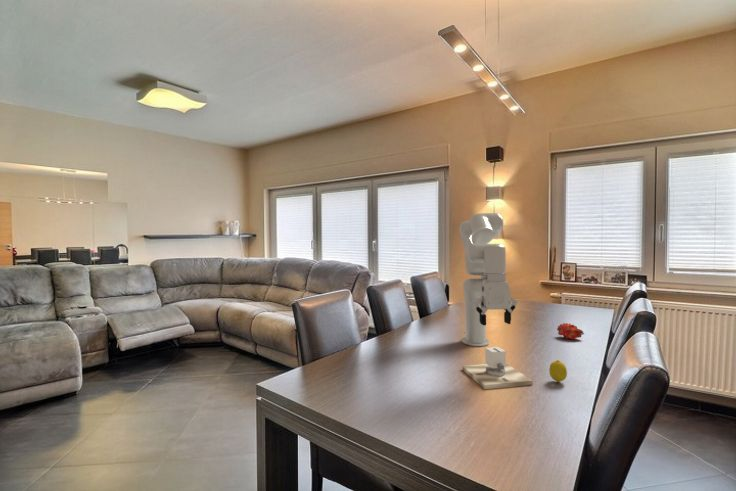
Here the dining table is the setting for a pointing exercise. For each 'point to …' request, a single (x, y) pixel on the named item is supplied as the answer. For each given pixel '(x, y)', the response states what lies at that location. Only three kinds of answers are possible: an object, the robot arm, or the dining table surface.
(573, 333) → the dragon fruit
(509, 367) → the base
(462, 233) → the robot arm
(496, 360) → the white box
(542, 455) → the dining table surface
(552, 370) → the lemon
